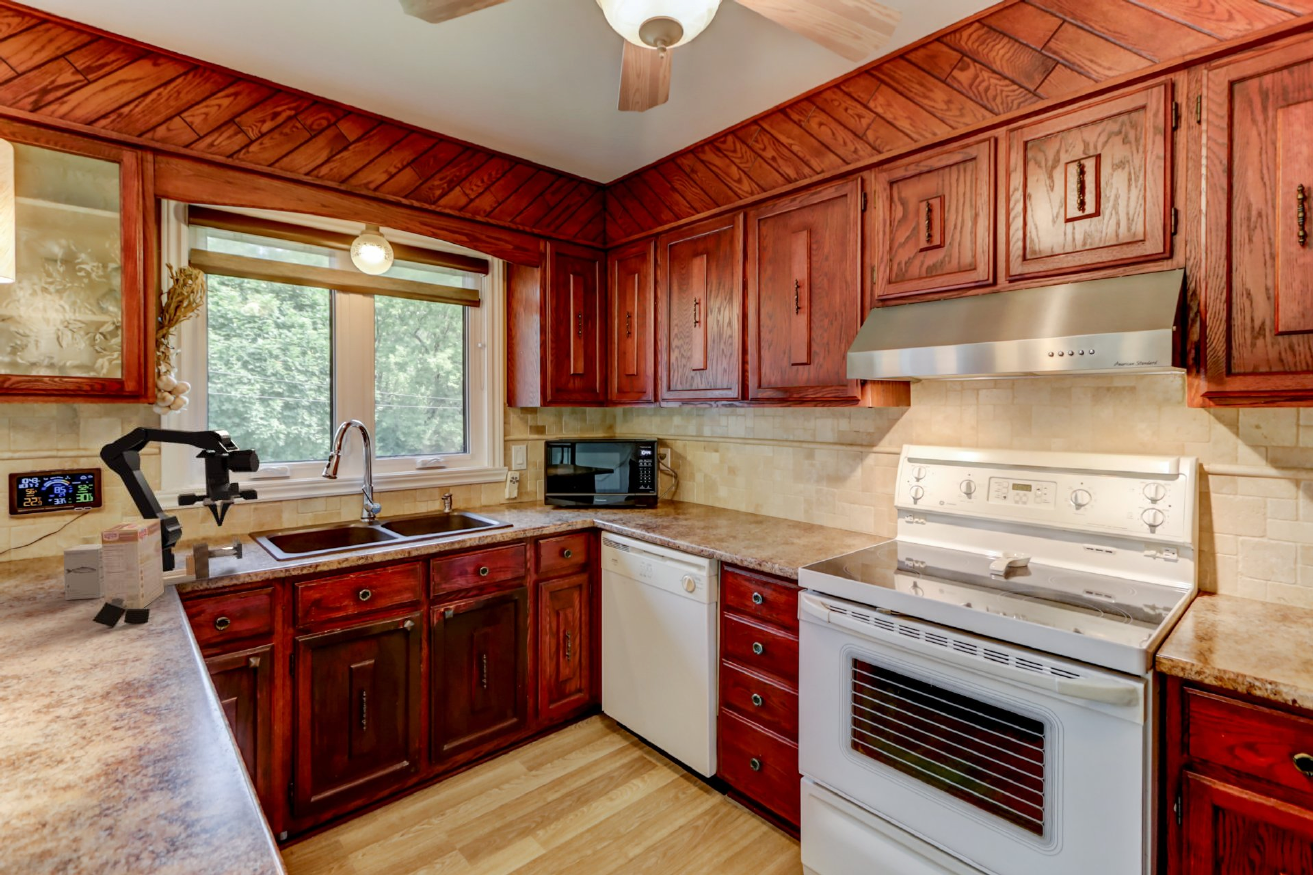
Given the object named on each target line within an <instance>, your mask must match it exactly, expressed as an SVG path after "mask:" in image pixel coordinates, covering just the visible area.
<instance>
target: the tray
mask: <svg viewBox="0 0 1313 875" xmlns="http://www.w3.org/2000/svg"><path fill="white" fill-rule="evenodd" d="M196 581H197V580H196V575H195V574H193V575H186V568H183V569H175V570H174V569H173V571H167V572H163V587H164V586H172V585H179V584H185V583H193V582H196Z"/></svg>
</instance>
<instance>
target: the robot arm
mask: <svg viewBox="0 0 1313 875" xmlns="http://www.w3.org/2000/svg"><path fill="white" fill-rule="evenodd" d="M150 442H155V443H156V442H157V443H158V442H159V443H168V444H169V443H170V444H179V445H180V444H181V445H189V446H193V447H195V448H198V449H200V450H201V449H202V450H201V451H200V452H199V453H198V454H197V455H196V456H195V458H196V459H204V475H205V494H201V495H197V494H196V493H195V492H193V493H192V492H191V493H190V492H189V493H179V494H178V495H177V505H178V507H183V506H194V505H195V503H197V502H198V503H199V502H201V503H202V506H203V507H205V508H207V507H208V509H209V510H210V512H211V514H212V516H213V518H214V521H215V522H216V524H217V527H222V526H223V523H224V520H225V517H226V514H227V512H228V509H229V508H230V507H231V505H235V503H236V502H235V499H243V500H245V501H252V500H258V491H257V490H256V489H254V487H253V488H252V487H251V488H241V489H240V483H239V481H237V482H230V471H231V472H232V473H236V474H237V473H239V474H240V473H241V474H242V473H257V472H258V470H259V468H260V459H259V456H258V454H257V453H256V449H255V448H252V449H251V448H249V449H240V448H239V447H238V445H236V443H235V442H234V441H233V440H232V438H231V435H230V433H228V431H227V430H224V429H213V430H212V429H211V430H200V431H198V430H196V431H194V430H193V431H192V430H182V429H181V430H180V429H172V428H171V429H170V428H161V427H160V428H157V427H152V426H138V427H135V428H134V429H133V430H131V431H130V432H129V433H127V434H125V435H122V436H121V437H120V438H117V439H116V440H114V441H113V442H111V443H107V444H104V445H103V446H102V447H101V449H100V451H99V457H100V458H101V460H102V461H103V463H104V464H105V466H107V468H109V469H110V470H111V471H113V472H114V473H115V474H117V475H118V476H119V477H120V478H121V479H120V480H122V482H123V485H124V486H125V488H126V490H127V491H128V493H129V495H130V497H131V499H132V500H133V502H134V504H135V506H136V508H137V510H138V512H139V513H140V515H141V517H142V519H160V527H161V546H162V565H163V572H167V571H174V569H175V568H176V563H175V562H176V561H175V559H176V558H175V557H176V556H175V553H174V552H173V551H172V548H176V544H177V543H178V541H180V539H181V537H182V535H183V531H182V529H183V525H182V524H181V523H180V522H179V520H178V517H177V516H176V515H172V516H169V515H168V514H166V513H165V511H164V510H163V508H162V507H161V505H160V503H159V501H158V499H157V497H156V495H155V494H154V491H153V490H152V488H151V487H150V485H149V482H148V480H147V479H146V477H145V475H144V473H143V472H142V470H141V455H140V452H141V451H142V450H144V449H145V447H146V446H148V444H149V443H150ZM216 502H220V504H219V511H218V504H217V503H216Z"/></svg>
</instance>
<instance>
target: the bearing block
mask: <svg viewBox="0 0 1313 875" xmlns="http://www.w3.org/2000/svg"><path fill="white" fill-rule="evenodd" d="M208 550H209V545H208V543H207V542H206V541H205V542H198V543H197V542H196V543H192V554H193V556H194V561H195V575H196V581H197V580H204V579H210V562H209V561H210V560H209V554H208Z"/></svg>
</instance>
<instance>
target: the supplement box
mask: <svg viewBox="0 0 1313 875" xmlns="http://www.w3.org/2000/svg"><path fill="white" fill-rule="evenodd" d="M63 572H64V596H65V597H64V598H65V601H70V600H83V599H84V600H86V599H88V600H89V599H101V598H103V597H105V593H104V574H103V558H102V543H89V544H86V543H85V544H78V545H75V546H73V547H70V548H66V549H65V550H63Z"/></svg>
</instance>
